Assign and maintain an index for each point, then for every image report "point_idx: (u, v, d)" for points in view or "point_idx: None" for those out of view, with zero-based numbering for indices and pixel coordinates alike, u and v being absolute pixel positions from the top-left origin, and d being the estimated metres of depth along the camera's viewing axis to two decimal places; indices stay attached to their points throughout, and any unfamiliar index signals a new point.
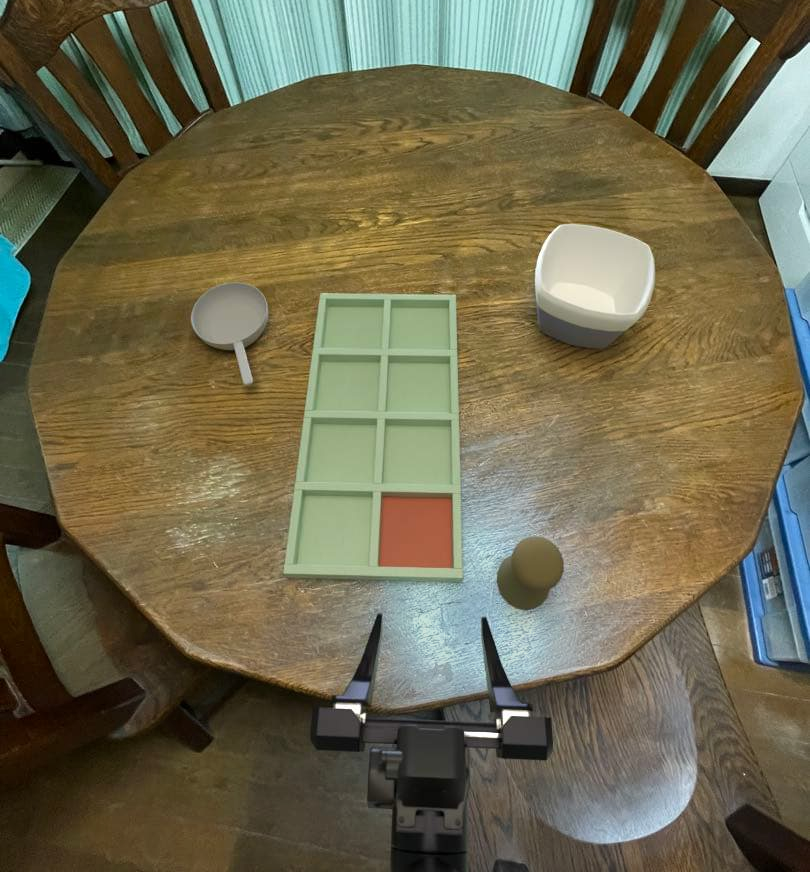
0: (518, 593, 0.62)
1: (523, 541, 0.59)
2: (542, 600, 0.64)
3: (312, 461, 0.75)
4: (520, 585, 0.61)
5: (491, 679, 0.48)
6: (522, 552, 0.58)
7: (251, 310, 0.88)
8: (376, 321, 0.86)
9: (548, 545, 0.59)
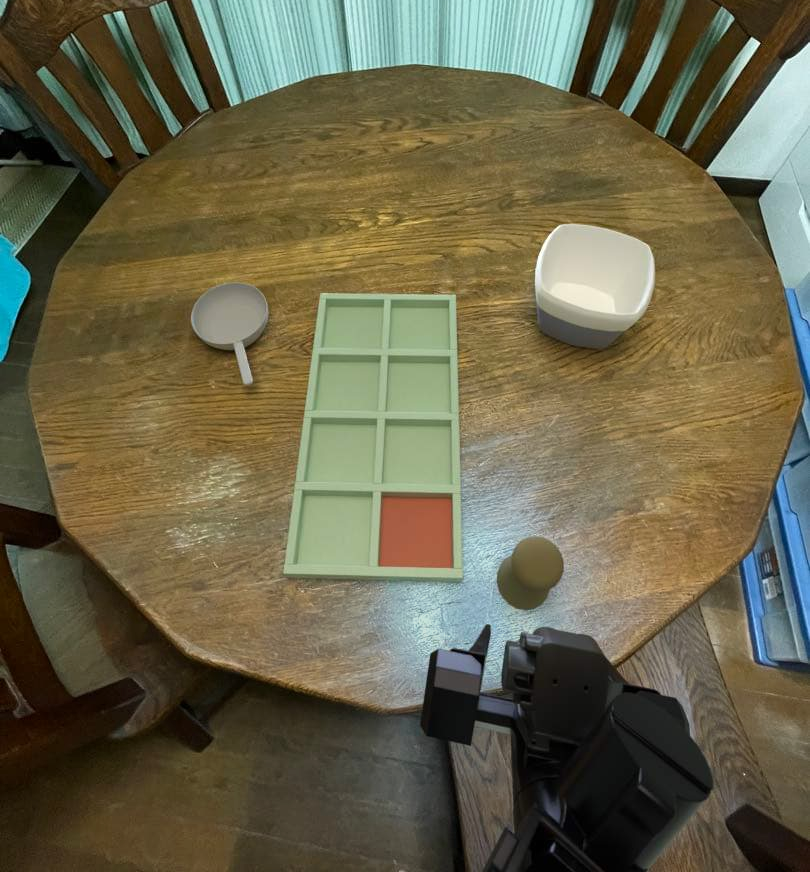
0: (518, 593, 0.62)
1: (523, 541, 0.59)
2: (542, 600, 0.64)
3: (312, 461, 0.75)
4: (520, 585, 0.61)
5: (611, 679, 0.46)
6: (522, 552, 0.58)
7: (251, 310, 0.88)
8: (376, 321, 0.86)
9: (548, 545, 0.59)
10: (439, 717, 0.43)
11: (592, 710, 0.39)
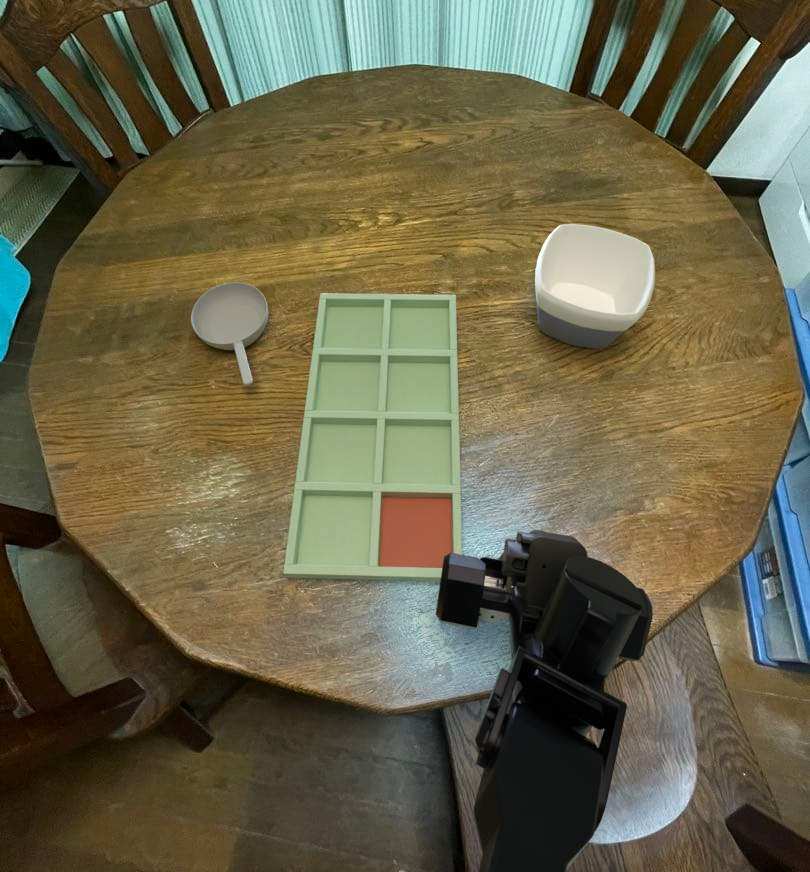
0: None
1: None
2: None
3: (312, 461, 0.75)
4: None
5: None
6: None
7: (251, 310, 0.88)
8: (376, 321, 0.86)
9: None
10: (451, 604, 0.53)
11: None
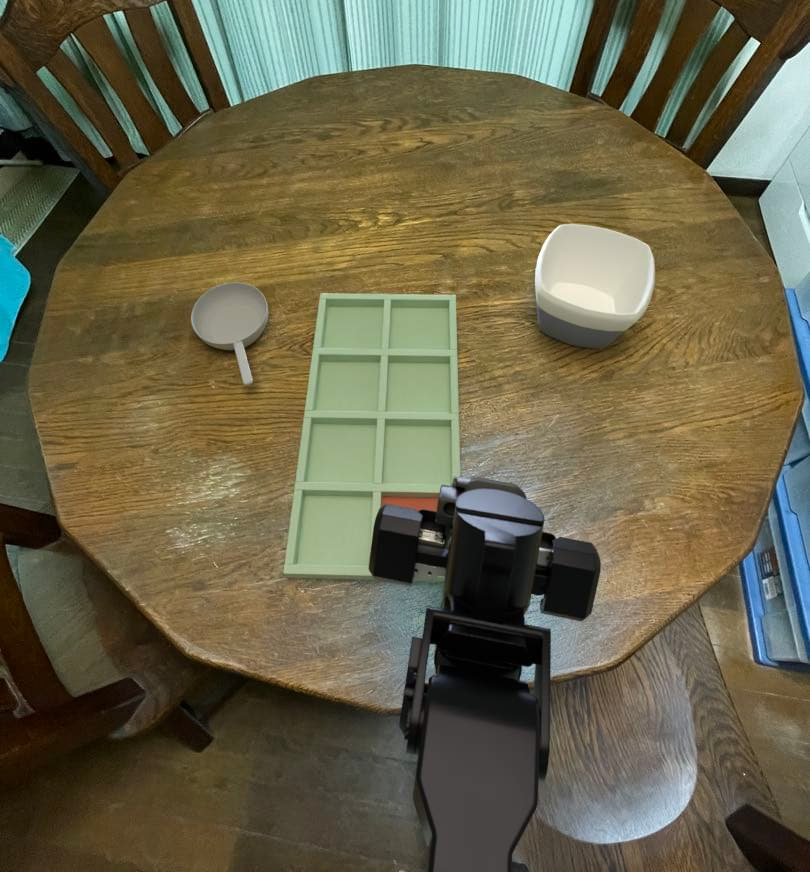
0: None
1: None
2: None
3: (312, 461, 0.75)
4: None
5: None
6: None
7: (251, 310, 0.88)
8: (376, 321, 0.86)
9: None
10: (384, 558, 0.49)
11: None
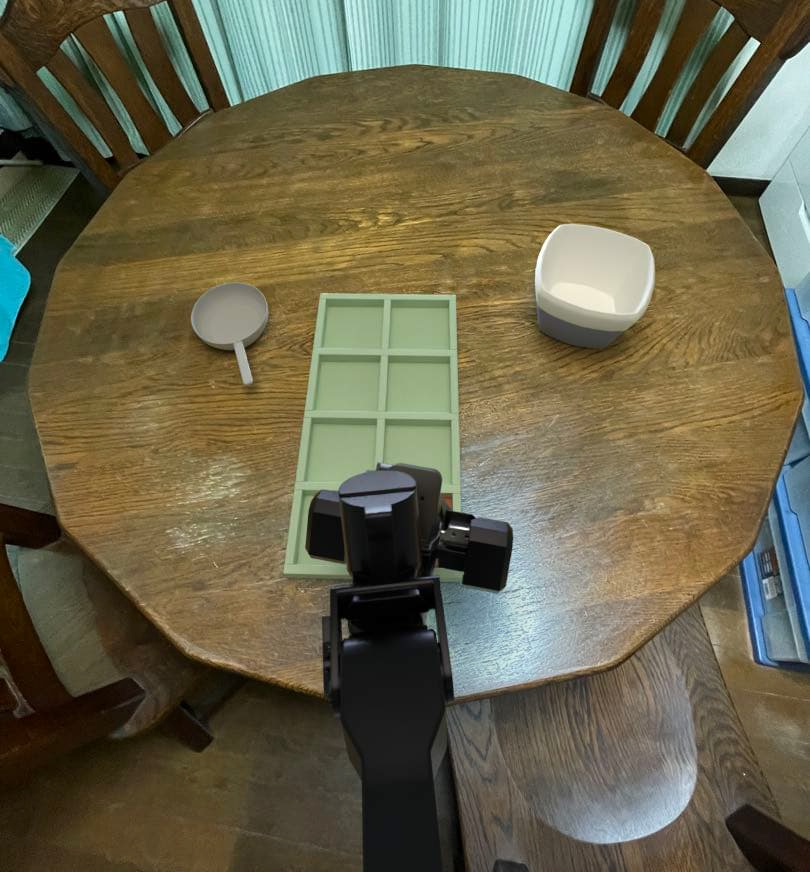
0: None
1: None
2: None
3: (312, 461, 0.75)
4: None
5: (443, 514, 0.57)
6: None
7: (251, 310, 0.88)
8: (376, 321, 0.86)
9: None
10: (318, 538, 0.54)
11: (426, 515, 0.49)
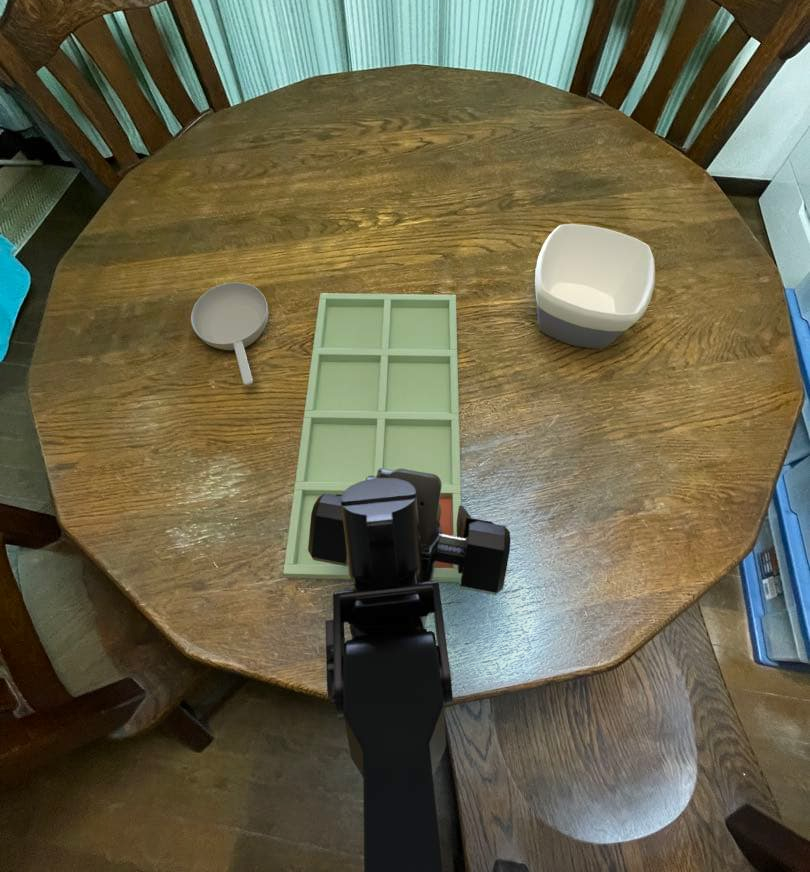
0: None
1: None
2: None
3: (312, 461, 0.75)
4: None
5: (463, 521, 0.59)
6: None
7: (251, 310, 0.88)
8: (376, 321, 0.86)
9: None
10: (321, 541, 0.55)
11: (426, 520, 0.51)
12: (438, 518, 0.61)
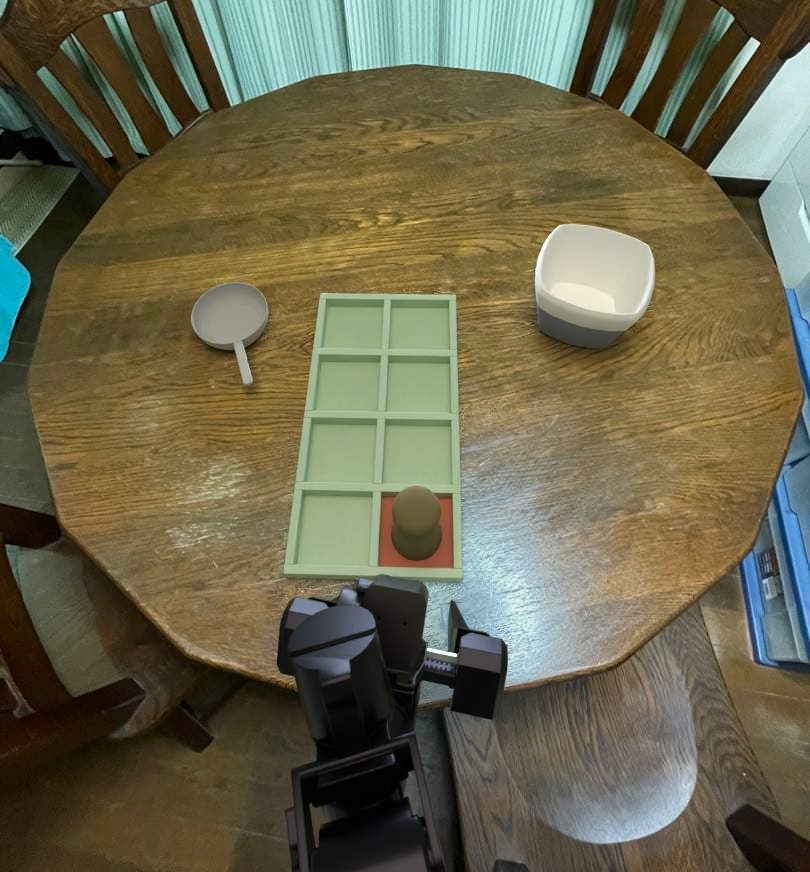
0: (404, 543, 0.65)
1: (403, 490, 0.62)
2: (430, 550, 0.67)
3: (312, 461, 0.75)
4: (403, 533, 0.63)
5: (454, 626, 0.52)
6: (400, 500, 0.61)
7: (251, 310, 0.88)
8: (376, 321, 0.86)
9: (425, 493, 0.61)
10: None
11: (410, 643, 0.44)
12: (438, 518, 0.61)
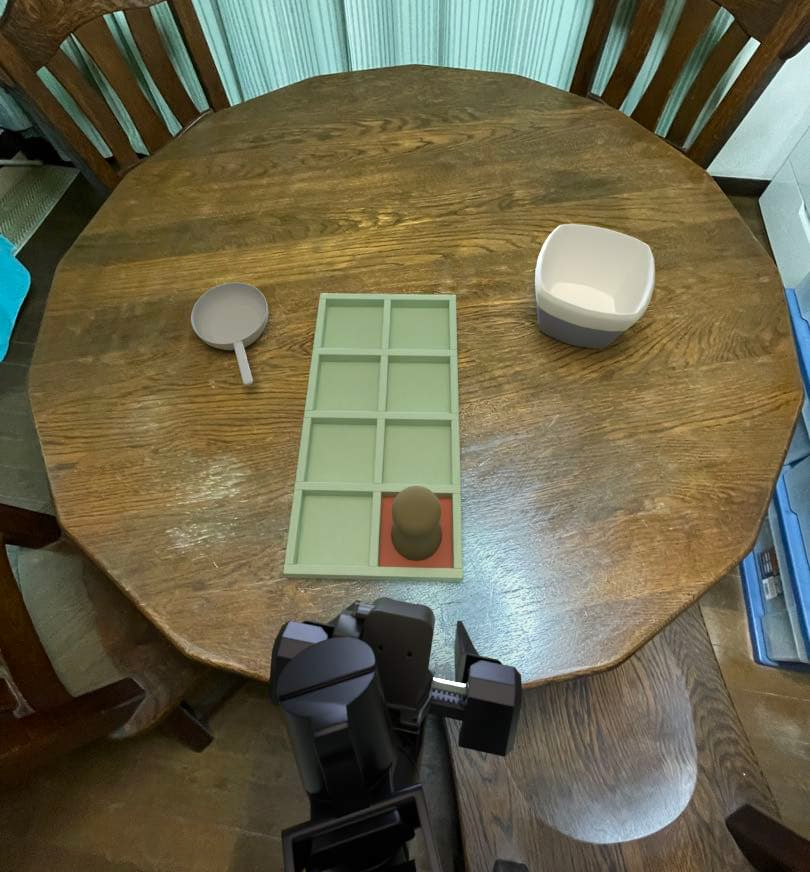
0: (404, 543, 0.65)
1: (403, 490, 0.62)
2: (430, 550, 0.67)
3: (312, 461, 0.75)
4: (403, 533, 0.63)
5: (462, 651, 0.47)
6: (400, 500, 0.61)
7: (251, 310, 0.88)
8: (376, 321, 0.86)
9: (425, 493, 0.61)
10: None
11: (415, 675, 0.40)
12: (438, 518, 0.61)
